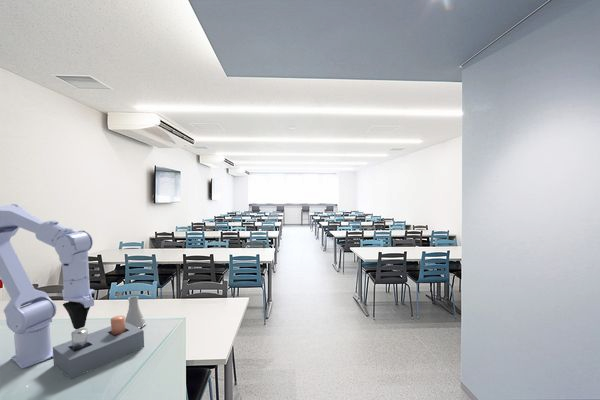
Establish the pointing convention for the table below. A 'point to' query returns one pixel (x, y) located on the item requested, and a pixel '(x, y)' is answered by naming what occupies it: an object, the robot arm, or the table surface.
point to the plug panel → (97, 350)
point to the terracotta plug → (117, 325)
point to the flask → (134, 313)
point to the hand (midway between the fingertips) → (79, 327)
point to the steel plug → (79, 339)
